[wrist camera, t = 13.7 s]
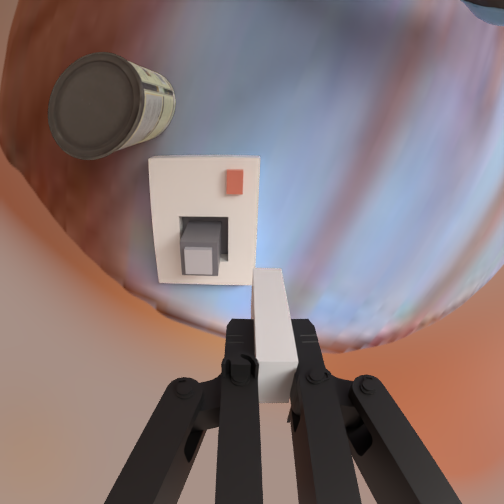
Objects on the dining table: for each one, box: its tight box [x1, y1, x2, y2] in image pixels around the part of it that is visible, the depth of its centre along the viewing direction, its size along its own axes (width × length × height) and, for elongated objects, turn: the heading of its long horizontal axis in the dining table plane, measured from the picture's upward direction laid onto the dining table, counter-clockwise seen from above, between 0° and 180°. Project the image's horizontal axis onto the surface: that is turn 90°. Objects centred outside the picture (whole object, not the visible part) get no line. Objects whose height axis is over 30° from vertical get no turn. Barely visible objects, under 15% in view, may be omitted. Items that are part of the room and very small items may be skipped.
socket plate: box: [148, 155, 260, 285], centre depth 39 cm, size 18×14×3 cm
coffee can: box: [48, 52, 176, 160], centre depth 27 cm, size 10×10×14 cm
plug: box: [180, 221, 221, 276], centre depth 38 cm, size 4×4×8 cm
